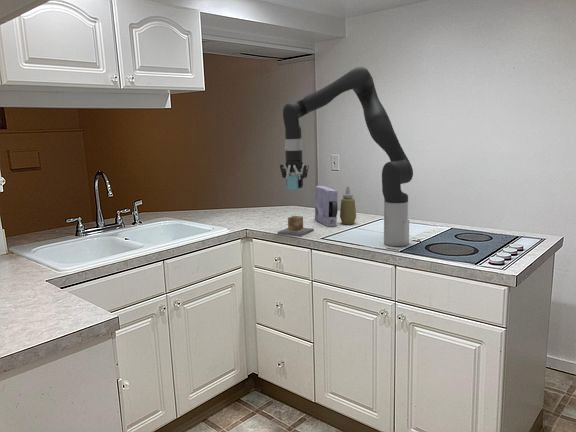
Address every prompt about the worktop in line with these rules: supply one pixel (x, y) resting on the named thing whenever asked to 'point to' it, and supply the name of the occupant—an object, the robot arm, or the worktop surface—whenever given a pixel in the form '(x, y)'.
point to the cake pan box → (326, 206)
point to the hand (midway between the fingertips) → (294, 187)
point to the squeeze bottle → (348, 208)
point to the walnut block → (295, 223)
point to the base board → (294, 233)
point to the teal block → (292, 182)
